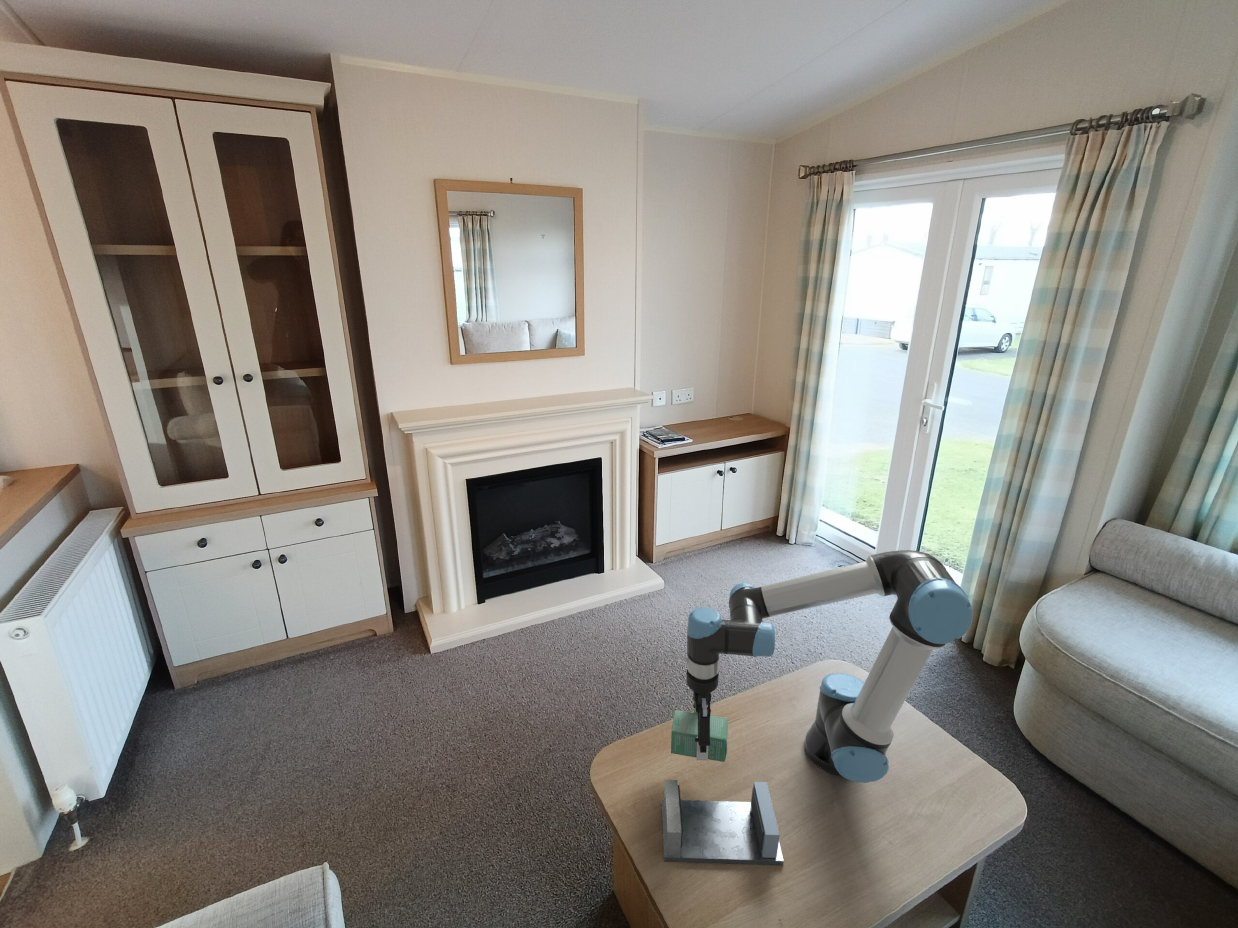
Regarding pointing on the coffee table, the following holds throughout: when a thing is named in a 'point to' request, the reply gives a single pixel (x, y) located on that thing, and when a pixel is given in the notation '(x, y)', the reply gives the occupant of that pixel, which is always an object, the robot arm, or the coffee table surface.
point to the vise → (710, 831)
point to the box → (688, 731)
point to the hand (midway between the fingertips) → (700, 744)
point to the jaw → (765, 820)
